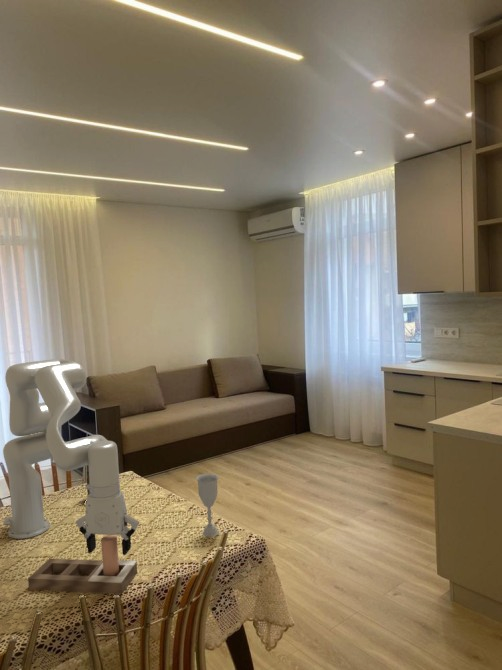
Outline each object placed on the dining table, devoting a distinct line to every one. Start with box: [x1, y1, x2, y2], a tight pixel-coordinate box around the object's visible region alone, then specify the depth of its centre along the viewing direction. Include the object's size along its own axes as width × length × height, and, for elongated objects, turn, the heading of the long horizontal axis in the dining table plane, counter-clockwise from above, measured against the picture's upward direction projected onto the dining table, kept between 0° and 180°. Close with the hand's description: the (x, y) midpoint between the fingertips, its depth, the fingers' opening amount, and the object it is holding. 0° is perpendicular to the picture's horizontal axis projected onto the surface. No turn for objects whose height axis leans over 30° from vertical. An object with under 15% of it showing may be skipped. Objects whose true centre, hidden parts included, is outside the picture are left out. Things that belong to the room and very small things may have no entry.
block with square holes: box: [27, 558, 138, 595], centre depth 133 cm, size 26×10×3 cm, turn 81°
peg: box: [100, 535, 119, 577], centre depth 131 cm, size 4×4×12 cm
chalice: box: [195, 473, 219, 538], centre depth 156 cm, size 7×7×18 cm
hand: (109, 551), depth 131 cm, fingers open, 9 cm apart
